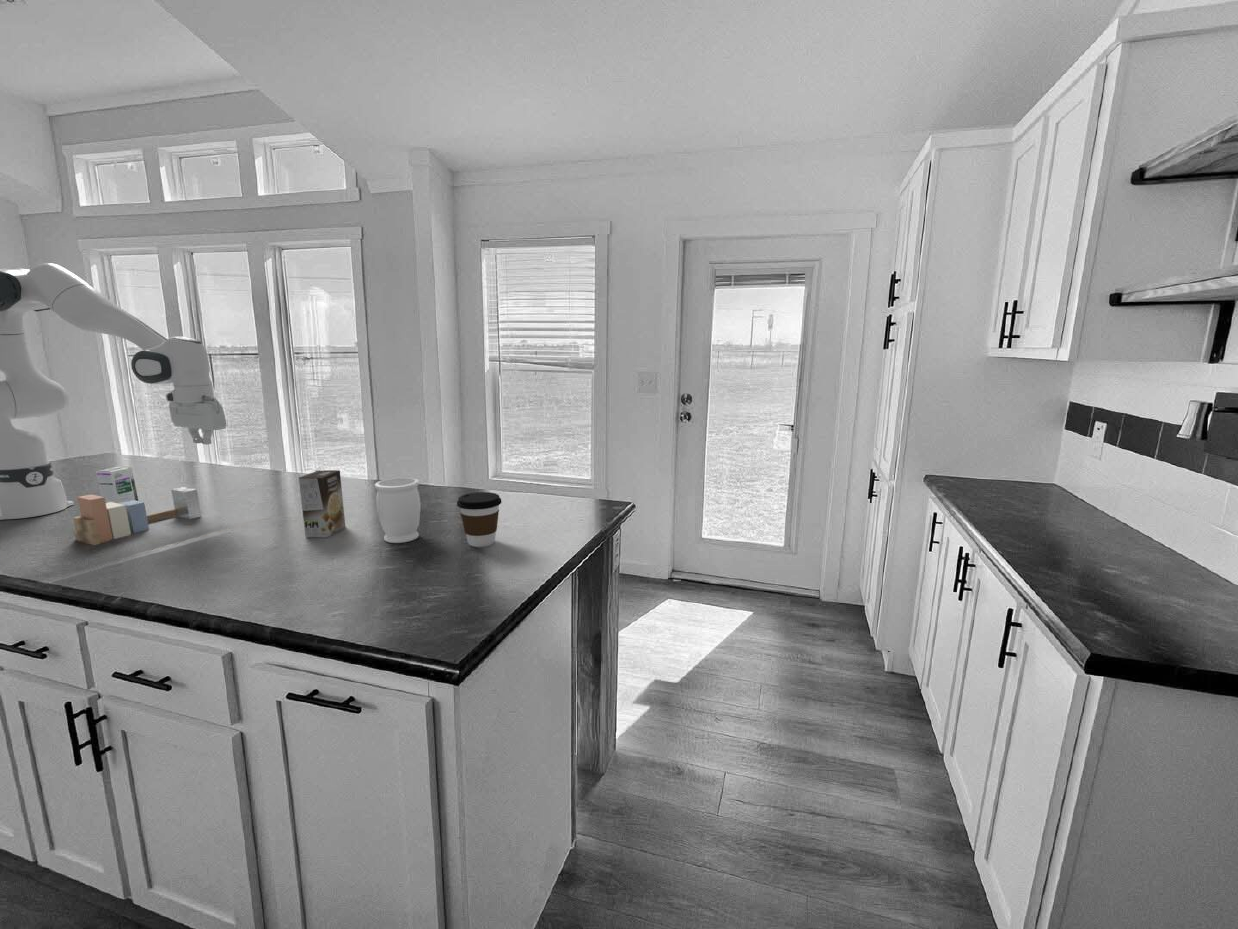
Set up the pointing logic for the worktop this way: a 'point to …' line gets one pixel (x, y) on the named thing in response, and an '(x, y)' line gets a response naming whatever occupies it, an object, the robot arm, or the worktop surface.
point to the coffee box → (322, 503)
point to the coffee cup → (480, 517)
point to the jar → (398, 508)
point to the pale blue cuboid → (136, 515)
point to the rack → (89, 532)
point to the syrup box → (117, 484)
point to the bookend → (186, 503)
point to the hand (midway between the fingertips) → (202, 443)
